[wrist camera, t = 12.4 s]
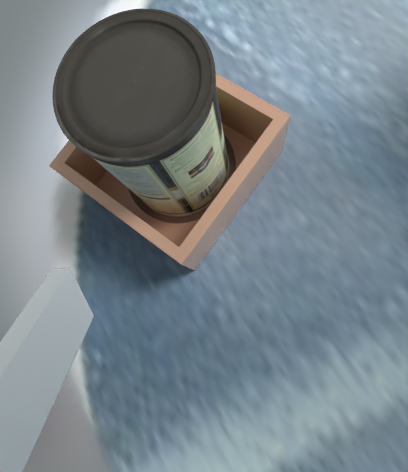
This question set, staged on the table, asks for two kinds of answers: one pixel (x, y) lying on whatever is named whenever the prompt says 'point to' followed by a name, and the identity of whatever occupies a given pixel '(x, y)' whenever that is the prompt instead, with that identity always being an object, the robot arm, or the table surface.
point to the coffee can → (146, 108)
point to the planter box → (226, 202)
